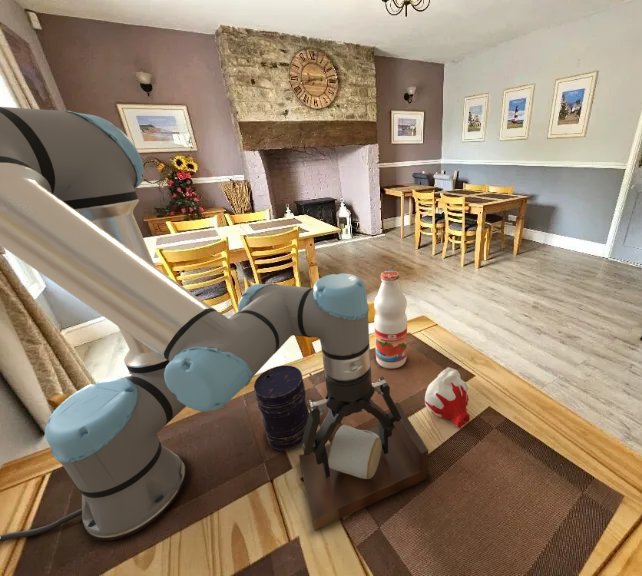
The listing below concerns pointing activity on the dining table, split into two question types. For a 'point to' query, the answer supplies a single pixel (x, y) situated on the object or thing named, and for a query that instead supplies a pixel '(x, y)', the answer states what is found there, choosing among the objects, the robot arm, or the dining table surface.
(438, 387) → the white red rounded piece
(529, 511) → the dining table surface
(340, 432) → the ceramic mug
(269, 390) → the storage jar
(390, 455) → the dark wooden tray
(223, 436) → the dining table surface
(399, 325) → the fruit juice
